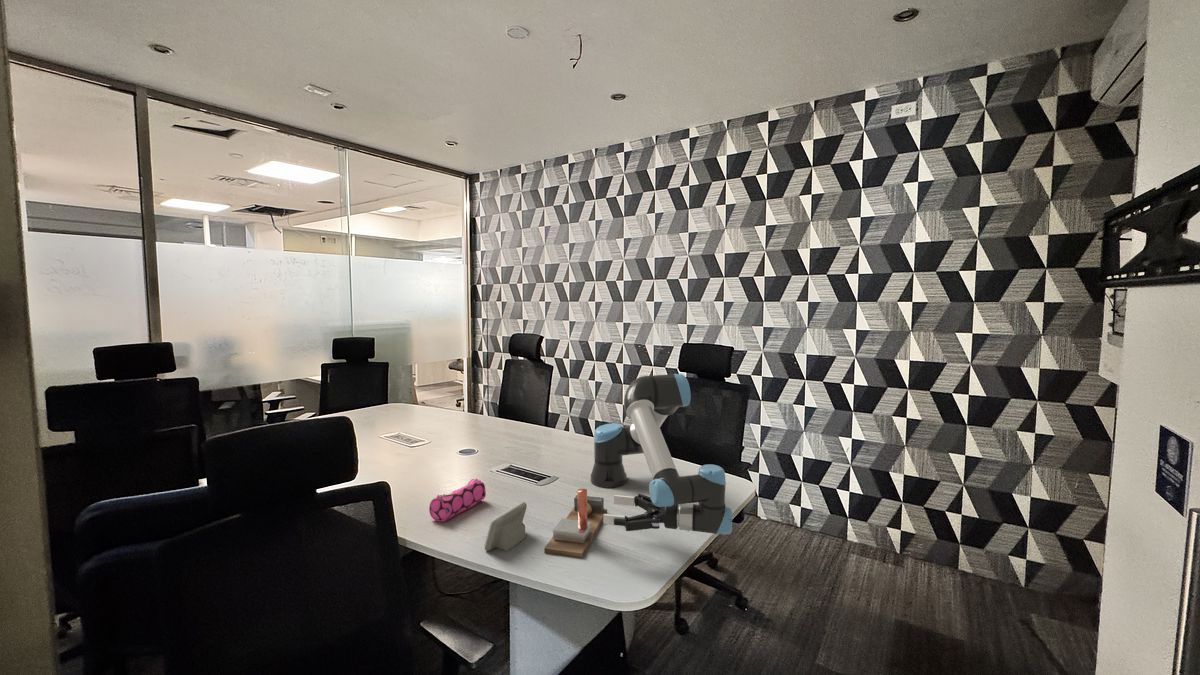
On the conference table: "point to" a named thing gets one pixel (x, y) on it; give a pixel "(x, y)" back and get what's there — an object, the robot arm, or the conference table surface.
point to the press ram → (575, 523)
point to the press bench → (578, 549)
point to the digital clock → (507, 528)
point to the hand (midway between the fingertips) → (609, 508)
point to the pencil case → (457, 501)
